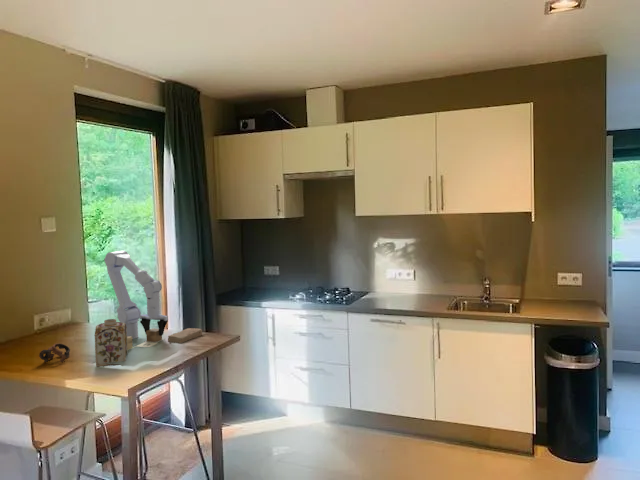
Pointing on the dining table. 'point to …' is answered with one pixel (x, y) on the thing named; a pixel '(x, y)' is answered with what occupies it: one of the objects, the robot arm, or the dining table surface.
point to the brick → (185, 335)
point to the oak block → (129, 342)
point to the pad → (154, 342)
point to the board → (144, 345)
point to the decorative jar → (110, 342)
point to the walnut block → (153, 335)
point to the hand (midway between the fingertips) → (154, 334)
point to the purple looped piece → (55, 352)
